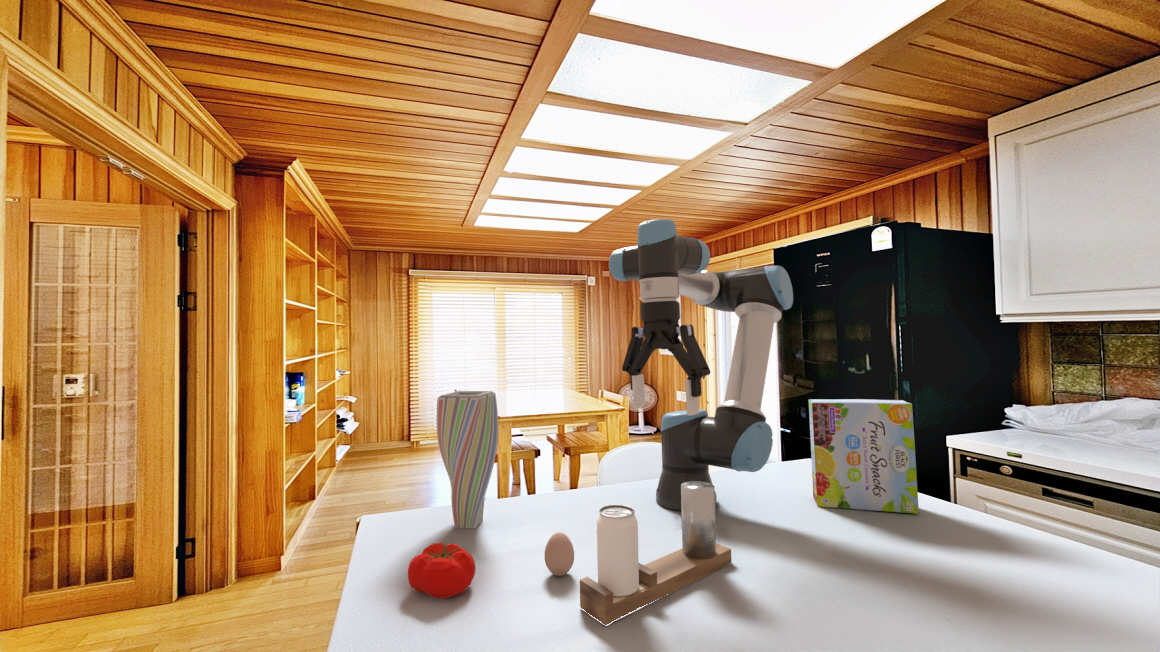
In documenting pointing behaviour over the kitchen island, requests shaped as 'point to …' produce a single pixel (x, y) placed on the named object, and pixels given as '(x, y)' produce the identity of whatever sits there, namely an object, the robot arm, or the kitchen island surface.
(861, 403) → the snack box
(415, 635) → the kitchen island surface
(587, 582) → the rail
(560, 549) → the egg
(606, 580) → the can
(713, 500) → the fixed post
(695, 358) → the robot arm
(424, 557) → the tomato
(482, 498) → the vase
